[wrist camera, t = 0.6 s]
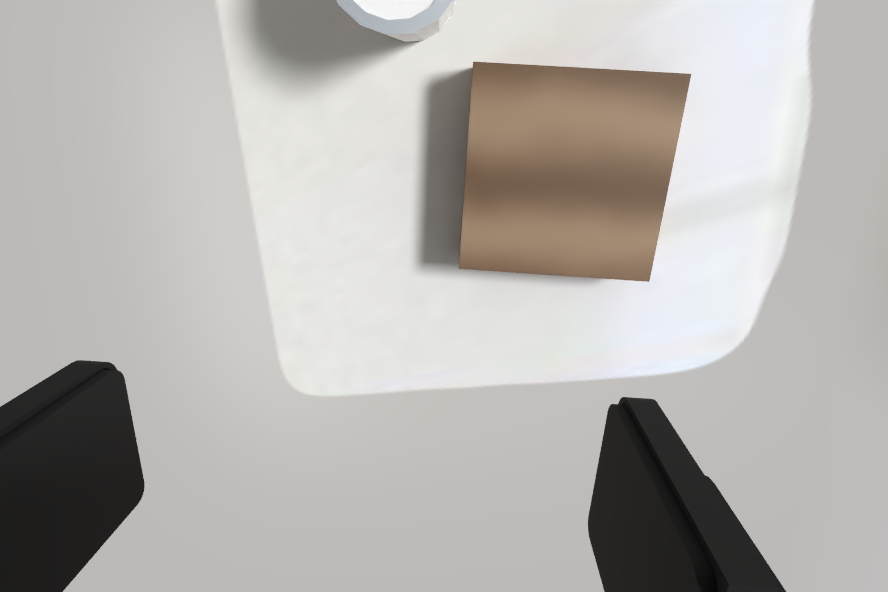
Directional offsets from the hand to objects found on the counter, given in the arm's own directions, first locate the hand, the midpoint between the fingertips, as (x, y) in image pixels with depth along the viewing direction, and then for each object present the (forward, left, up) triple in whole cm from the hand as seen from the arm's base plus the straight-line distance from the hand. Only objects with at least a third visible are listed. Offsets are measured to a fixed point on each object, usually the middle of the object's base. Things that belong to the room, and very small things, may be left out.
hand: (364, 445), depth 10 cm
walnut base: (-3, +7, -26) cm, 27 cm away
